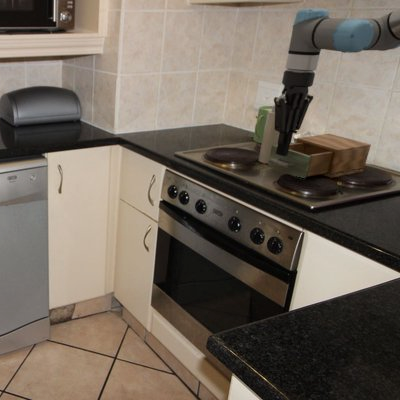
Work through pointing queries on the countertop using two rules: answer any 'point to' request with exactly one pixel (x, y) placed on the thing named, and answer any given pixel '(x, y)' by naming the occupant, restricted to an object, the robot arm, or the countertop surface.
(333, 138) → the cabinet
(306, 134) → the cell model
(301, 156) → the drawer
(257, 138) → the mug
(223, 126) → the countertop surface
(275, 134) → the pepper mill
